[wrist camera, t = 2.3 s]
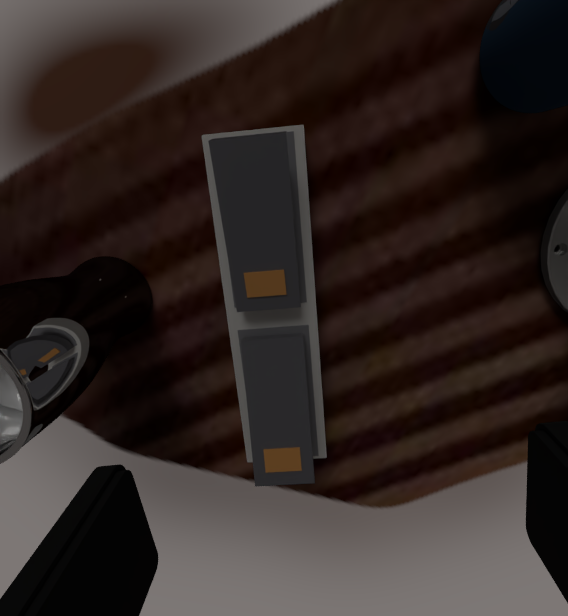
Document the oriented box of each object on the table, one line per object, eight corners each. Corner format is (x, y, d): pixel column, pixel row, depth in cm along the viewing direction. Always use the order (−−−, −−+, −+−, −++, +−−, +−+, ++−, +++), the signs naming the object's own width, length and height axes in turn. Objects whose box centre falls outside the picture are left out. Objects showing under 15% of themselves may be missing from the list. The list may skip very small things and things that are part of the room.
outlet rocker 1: (286, 131, 22) (286, 133, 21) (300, 298, 26) (300, 308, 25) (212, 138, 22) (207, 141, 21) (239, 303, 27) (236, 312, 25)
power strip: (211, 139, 27) (201, 135, 24) (302, 130, 26) (303, 124, 23) (251, 438, 34) (247, 463, 31) (324, 433, 33) (326, 458, 30)
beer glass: (141, 353, 32) (14, 497, 17) (54, 317, 31) (-153, 437, 17) (171, 273, 30) (54, 363, 15) (79, 233, 29) (-133, 288, 15)
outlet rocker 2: (303, 332, 27) (303, 336, 26) (314, 473, 28) (314, 484, 27) (243, 337, 27) (240, 341, 26) (257, 476, 29) (255, 487, 27)
